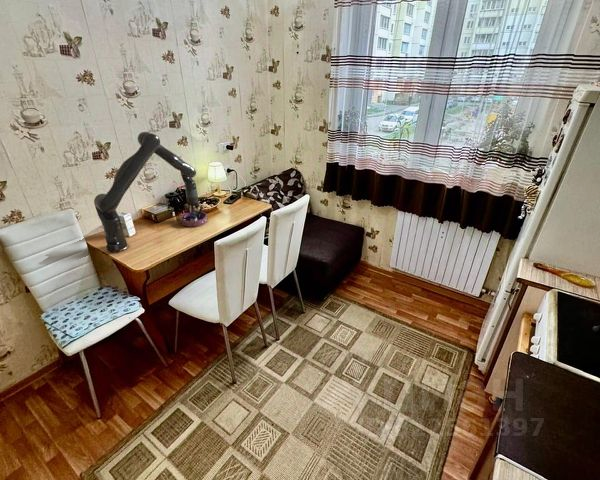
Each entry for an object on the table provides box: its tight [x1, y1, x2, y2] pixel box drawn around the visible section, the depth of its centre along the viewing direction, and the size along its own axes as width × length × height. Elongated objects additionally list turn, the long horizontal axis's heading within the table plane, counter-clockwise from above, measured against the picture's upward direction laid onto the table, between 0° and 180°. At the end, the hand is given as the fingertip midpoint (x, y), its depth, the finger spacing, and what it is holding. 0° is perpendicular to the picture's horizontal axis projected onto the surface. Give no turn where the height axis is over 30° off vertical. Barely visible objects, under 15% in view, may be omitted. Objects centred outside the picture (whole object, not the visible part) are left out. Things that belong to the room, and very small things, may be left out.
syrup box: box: [117, 211, 137, 238], centre depth 193 cm, size 6×6×14 cm
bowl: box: [180, 210, 208, 227], centre depth 214 cm, size 17×17×4 cm
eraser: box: [190, 210, 197, 221], centre depth 214 cm, size 8×4×4 cm, turn 173°
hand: (195, 218), depth 215 cm, fingers closed on eraser, 3 cm apart
